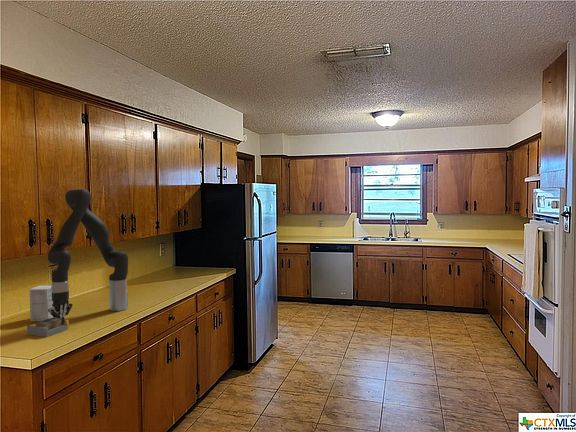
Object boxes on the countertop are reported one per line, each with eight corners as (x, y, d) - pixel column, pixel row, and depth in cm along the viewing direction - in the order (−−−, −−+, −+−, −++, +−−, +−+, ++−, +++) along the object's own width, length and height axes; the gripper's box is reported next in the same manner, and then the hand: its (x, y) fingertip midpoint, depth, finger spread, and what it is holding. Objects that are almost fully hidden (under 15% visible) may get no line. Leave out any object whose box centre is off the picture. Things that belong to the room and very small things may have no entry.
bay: (49, 326, 210) (49, 317, 210) (69, 329, 206) (68, 320, 206) (27, 334, 198) (26, 325, 198) (46, 337, 194) (46, 327, 194)
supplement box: (57, 316, 228) (56, 285, 228) (48, 321, 219) (47, 288, 218) (39, 316, 228) (38, 285, 227) (29, 321, 219) (28, 289, 218)
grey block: (52, 328, 207) (51, 317, 207) (61, 330, 205) (61, 318, 205) (35, 334, 198) (35, 322, 198) (45, 335, 196) (45, 323, 196)
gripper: (65, 287, 215) (66, 320, 216) (42, 292, 203) (43, 328, 204) (76, 288, 213) (77, 322, 214) (54, 293, 200) (55, 330, 201)
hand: (61, 325), depth 209 cm, fingers closed
